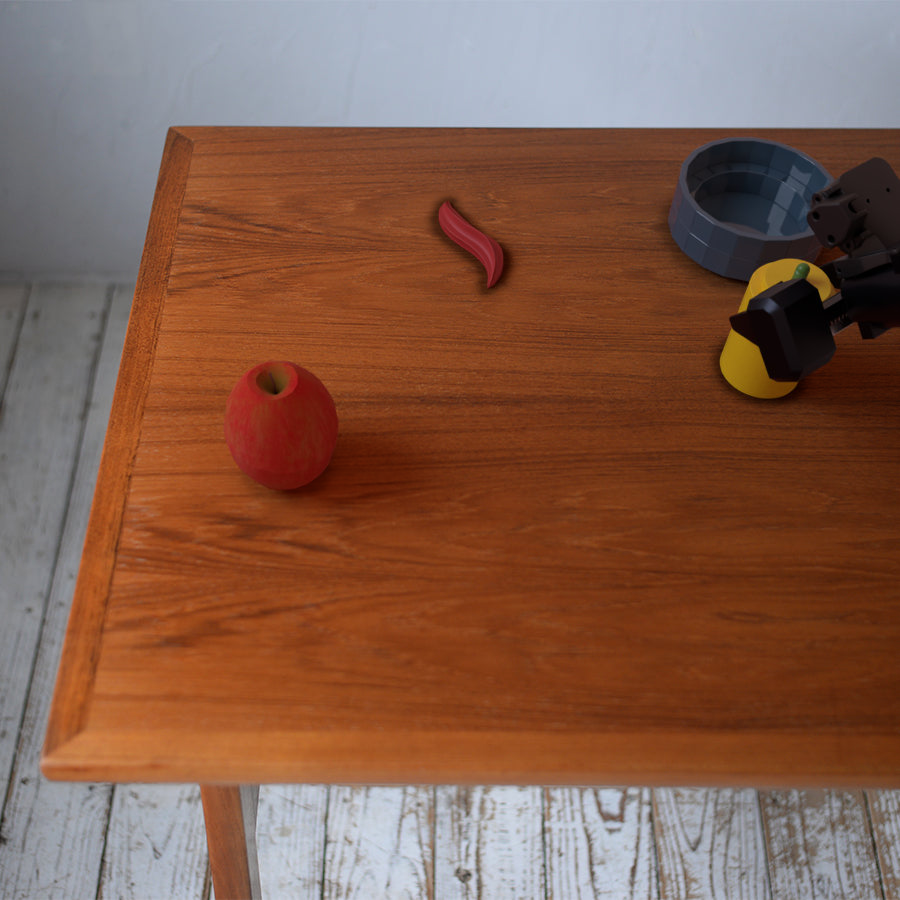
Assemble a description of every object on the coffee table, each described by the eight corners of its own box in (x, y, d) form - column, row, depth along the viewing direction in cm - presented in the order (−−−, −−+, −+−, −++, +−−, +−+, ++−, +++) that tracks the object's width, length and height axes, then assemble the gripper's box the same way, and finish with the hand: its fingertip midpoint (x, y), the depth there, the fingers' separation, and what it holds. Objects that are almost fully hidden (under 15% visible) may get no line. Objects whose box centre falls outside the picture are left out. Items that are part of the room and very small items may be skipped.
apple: (313, 405, 77) (301, 311, 68) (361, 480, 73) (355, 389, 64) (217, 446, 74) (191, 353, 66) (261, 526, 70) (240, 438, 62)
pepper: (813, 367, 81) (866, 264, 71) (772, 412, 78) (822, 310, 69) (746, 327, 83) (789, 222, 74) (704, 368, 81) (743, 264, 71)
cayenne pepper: (512, 284, 86) (514, 268, 84) (462, 292, 85) (463, 276, 83) (480, 197, 92) (481, 181, 91) (433, 203, 92) (433, 187, 90)
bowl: (822, 201, 94) (843, 154, 89) (815, 301, 86) (837, 255, 81) (677, 172, 96) (690, 124, 91) (656, 267, 87) (669, 220, 83)
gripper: (1009, 108, 63) (823, 159, 77) (816, 212, 56) (650, 247, 70) (1050, 267, 66) (862, 288, 80) (870, 385, 59) (700, 385, 73)
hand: (773, 299), depth 76 cm, fingers open, 9 cm apart
